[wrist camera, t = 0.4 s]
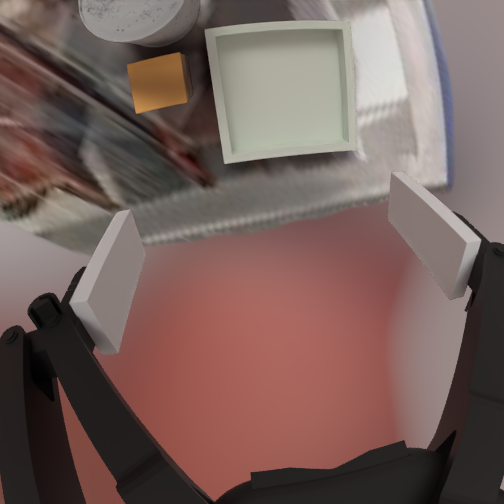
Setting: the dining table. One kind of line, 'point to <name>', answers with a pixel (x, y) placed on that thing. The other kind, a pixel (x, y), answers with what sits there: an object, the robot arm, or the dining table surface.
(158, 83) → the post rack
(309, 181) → the dining table surface
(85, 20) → the grey cylinder
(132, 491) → the robot arm
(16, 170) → the dining table surface
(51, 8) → the dining table surface
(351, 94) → the tray
